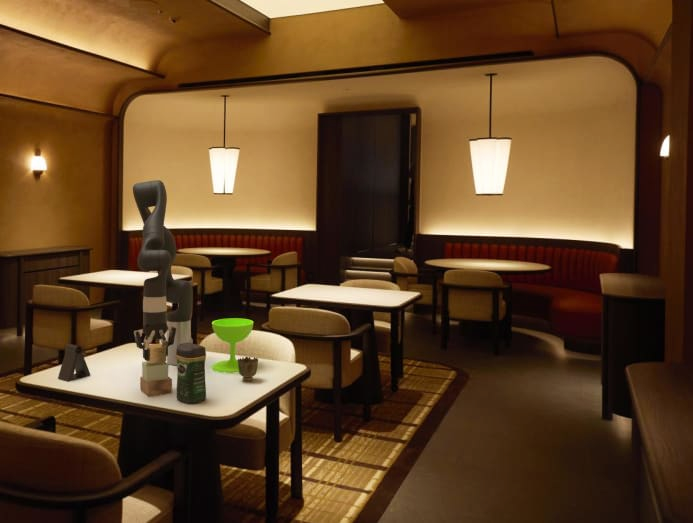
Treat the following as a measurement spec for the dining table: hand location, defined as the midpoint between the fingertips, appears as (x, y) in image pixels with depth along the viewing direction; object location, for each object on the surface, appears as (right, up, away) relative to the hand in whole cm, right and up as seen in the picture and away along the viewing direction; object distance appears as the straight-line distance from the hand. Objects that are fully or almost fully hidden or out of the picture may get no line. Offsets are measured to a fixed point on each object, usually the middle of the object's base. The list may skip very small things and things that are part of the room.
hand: (155, 358), depth 199 cm
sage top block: (0, -7, +1) cm, 7 cm away
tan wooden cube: (0, -1, 0) cm, 1 cm away
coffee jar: (+14, -13, -6) cm, 20 cm away
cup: (+29, -11, +16) cm, 34 cm away
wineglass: (+20, -9, +33) cm, 39 cm away
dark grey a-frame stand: (-34, -10, +15) cm, 39 cm away
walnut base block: (0, -12, +1) cm, 12 cm away
